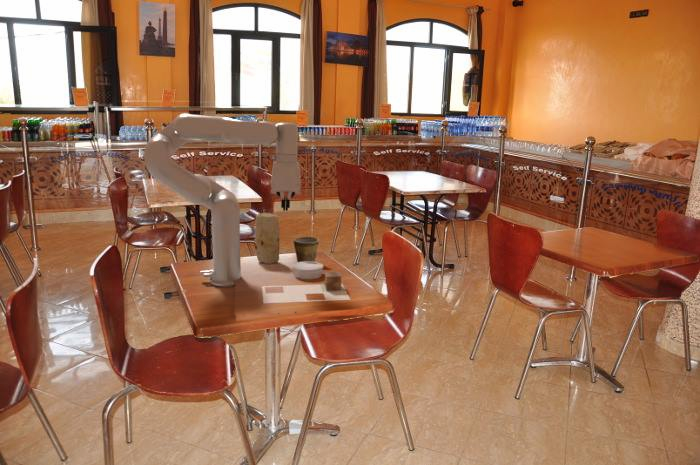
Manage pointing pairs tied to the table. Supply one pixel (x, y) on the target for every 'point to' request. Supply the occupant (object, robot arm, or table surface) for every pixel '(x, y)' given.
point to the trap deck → (303, 294)
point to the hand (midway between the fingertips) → (285, 209)
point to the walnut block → (332, 281)
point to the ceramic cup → (306, 248)
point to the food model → (267, 237)
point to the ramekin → (307, 270)
